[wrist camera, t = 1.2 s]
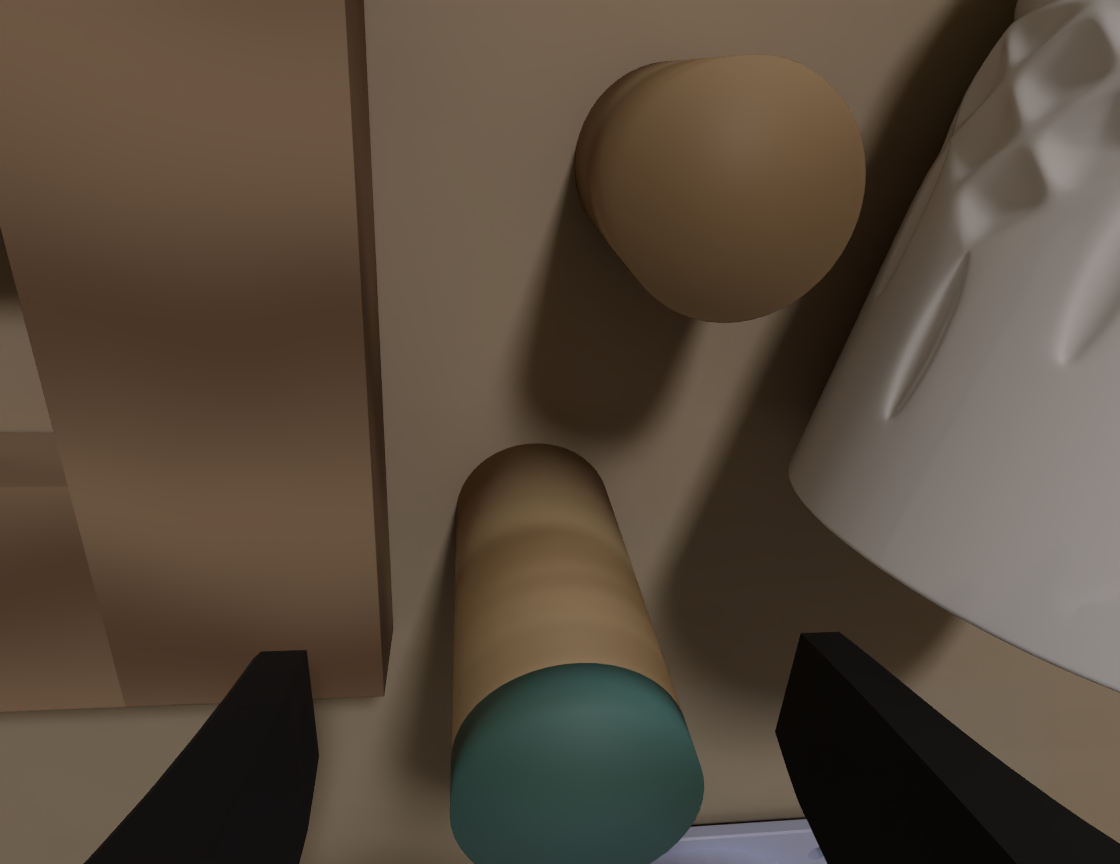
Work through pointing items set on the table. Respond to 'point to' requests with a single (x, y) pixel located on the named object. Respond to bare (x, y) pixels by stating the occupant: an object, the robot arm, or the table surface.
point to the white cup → (997, 359)
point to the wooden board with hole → (191, 352)
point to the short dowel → (723, 181)
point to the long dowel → (559, 677)
